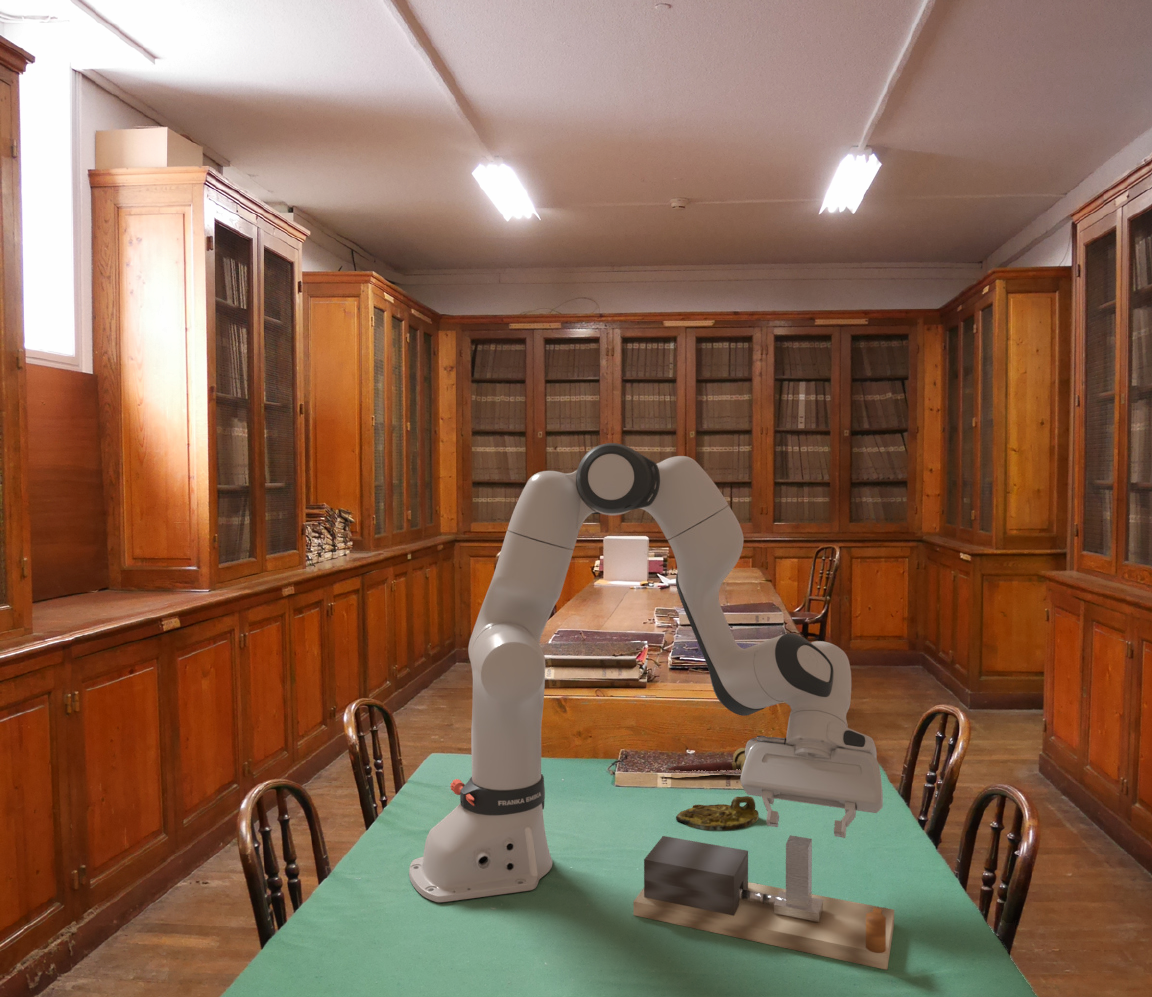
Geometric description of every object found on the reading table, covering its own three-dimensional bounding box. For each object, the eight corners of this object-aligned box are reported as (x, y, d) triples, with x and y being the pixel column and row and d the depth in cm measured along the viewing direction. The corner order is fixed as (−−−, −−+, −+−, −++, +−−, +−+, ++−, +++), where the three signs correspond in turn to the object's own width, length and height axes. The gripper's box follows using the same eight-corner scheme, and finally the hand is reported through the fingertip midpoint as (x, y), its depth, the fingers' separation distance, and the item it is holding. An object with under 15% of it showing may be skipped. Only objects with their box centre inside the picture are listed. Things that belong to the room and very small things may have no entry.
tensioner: (633, 915, 124) (632, 863, 124) (660, 878, 135) (660, 830, 135) (887, 970, 110) (887, 912, 110) (894, 923, 121) (894, 870, 121)
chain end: (657, 889, 127) (657, 823, 126) (665, 877, 131) (665, 813, 130) (818, 921, 118) (819, 850, 117) (823, 907, 121) (823, 839, 121)
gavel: (660, 771, 173) (654, 754, 183) (662, 794, 174) (656, 776, 184) (765, 762, 174) (753, 746, 184) (766, 785, 174) (754, 767, 184)
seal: (683, 840, 152) (766, 833, 154) (683, 815, 151) (767, 808, 153) (670, 813, 161) (749, 807, 163) (670, 789, 160) (749, 783, 162)
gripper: (744, 724, 135) (729, 809, 127) (884, 739, 127) (878, 832, 119) (751, 743, 140) (736, 827, 131) (886, 760, 131) (880, 851, 123)
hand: (805, 830), depth 125 cm, fingers open, 8 cm apart
